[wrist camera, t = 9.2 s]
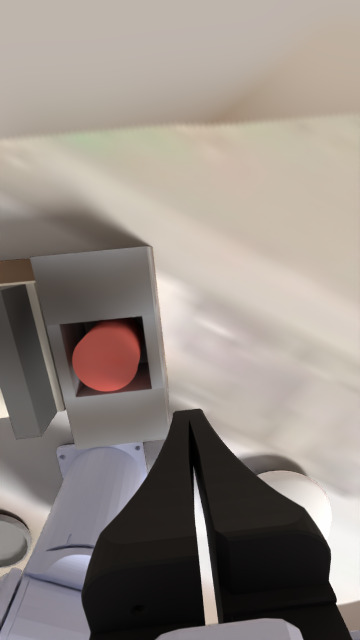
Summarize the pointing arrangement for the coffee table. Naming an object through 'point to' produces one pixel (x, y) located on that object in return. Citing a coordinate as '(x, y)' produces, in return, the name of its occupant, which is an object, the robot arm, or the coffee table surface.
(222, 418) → the coffee table surface
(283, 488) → the flower in vase
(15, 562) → the pocket watch
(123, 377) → the button
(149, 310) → the rail board
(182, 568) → the robot arm
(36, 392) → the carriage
